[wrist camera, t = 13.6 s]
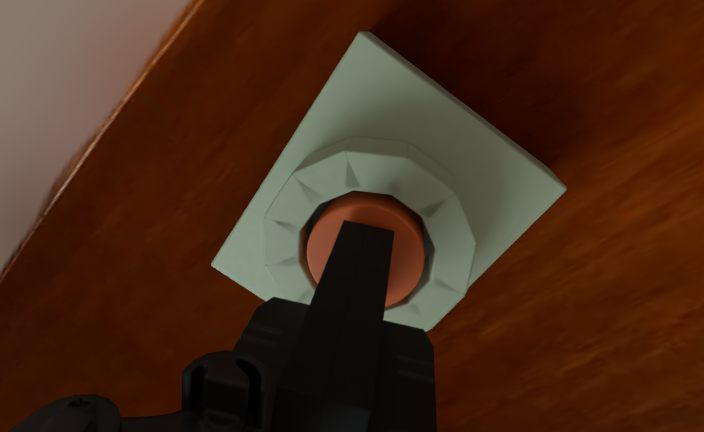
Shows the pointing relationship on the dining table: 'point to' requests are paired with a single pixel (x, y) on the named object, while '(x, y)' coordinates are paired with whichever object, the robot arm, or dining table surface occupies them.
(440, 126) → the block
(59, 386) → the dining table surface
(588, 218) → the dining table surface
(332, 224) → the button
